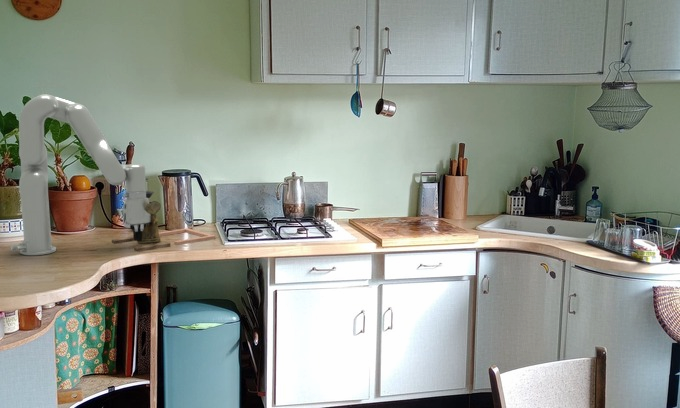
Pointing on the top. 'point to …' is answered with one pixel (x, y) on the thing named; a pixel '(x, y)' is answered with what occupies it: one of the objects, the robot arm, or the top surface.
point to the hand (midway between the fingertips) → (138, 240)
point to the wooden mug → (151, 225)
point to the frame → (202, 238)
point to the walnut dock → (141, 248)
